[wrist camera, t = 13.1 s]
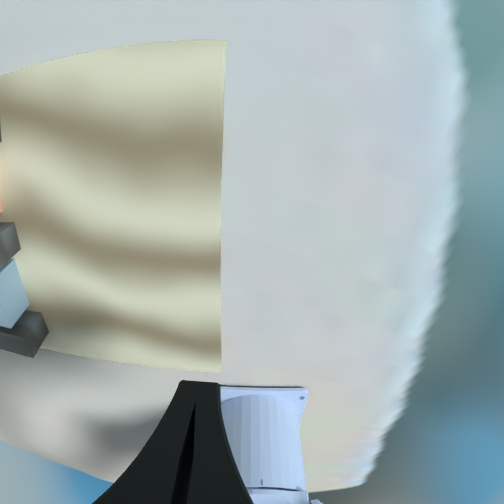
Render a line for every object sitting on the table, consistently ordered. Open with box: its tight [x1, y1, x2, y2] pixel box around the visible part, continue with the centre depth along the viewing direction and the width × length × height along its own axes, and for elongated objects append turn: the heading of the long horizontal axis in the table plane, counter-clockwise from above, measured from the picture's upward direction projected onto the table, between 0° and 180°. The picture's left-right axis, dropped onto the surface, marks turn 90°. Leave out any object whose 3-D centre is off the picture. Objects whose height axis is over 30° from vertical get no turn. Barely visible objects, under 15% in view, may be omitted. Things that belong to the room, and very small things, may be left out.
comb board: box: [0, 39, 227, 373], centre depth 16 cm, size 22×22×4 cm
